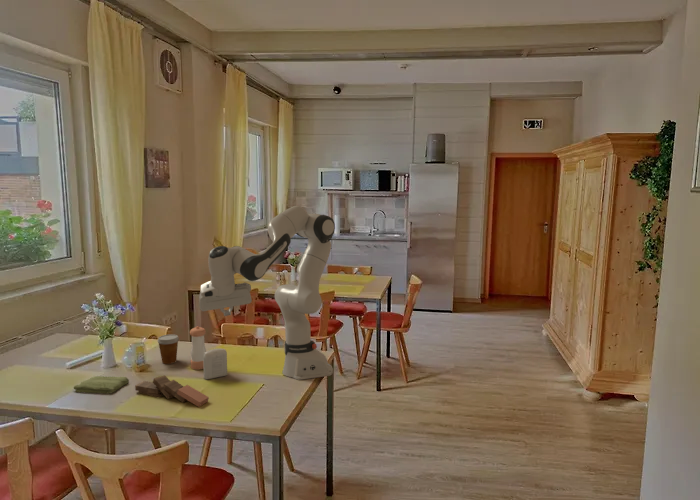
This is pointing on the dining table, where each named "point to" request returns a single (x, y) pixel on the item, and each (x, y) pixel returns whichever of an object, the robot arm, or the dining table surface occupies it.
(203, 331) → the pepper shaker
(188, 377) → the dining table surface
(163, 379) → the walnut domino
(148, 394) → the walnut domino
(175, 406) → the dining table surface
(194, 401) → the terracotta domino
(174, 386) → the walnut domino
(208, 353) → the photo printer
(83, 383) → the washcloth
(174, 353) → the disposable coffee cup
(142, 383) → the walnut domino
